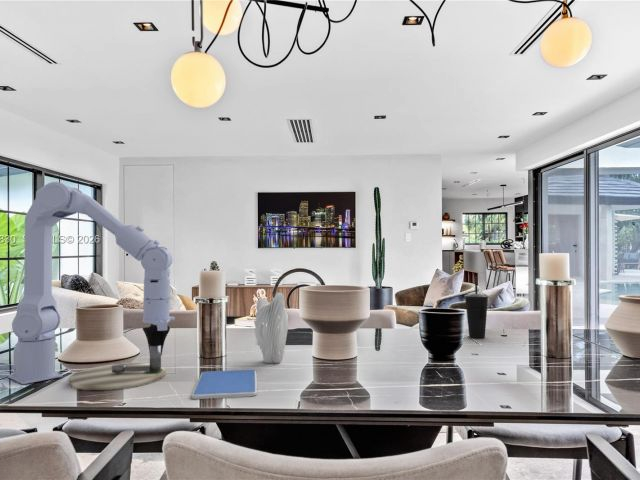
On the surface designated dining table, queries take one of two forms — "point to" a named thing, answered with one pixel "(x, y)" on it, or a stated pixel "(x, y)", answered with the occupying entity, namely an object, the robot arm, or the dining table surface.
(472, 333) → the drinking cup
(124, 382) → the dial board
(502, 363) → the dining table surface
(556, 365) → the dining table surface
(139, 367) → the lever
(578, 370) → the dining table surface
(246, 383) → the tablet computer
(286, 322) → the white ribbed vase
